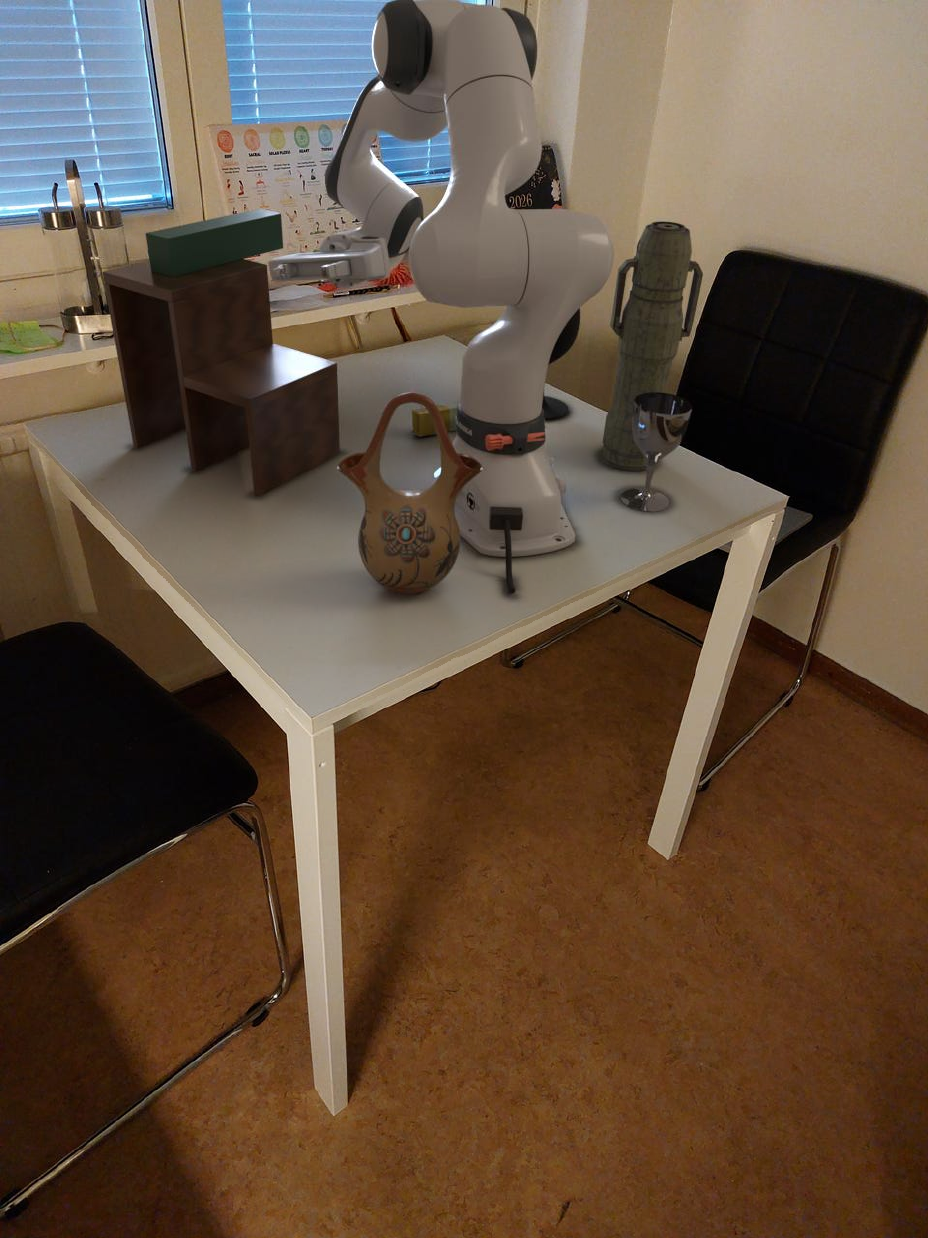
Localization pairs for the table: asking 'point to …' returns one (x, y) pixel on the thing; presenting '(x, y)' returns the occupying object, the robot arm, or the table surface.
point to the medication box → (424, 422)
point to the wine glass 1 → (563, 344)
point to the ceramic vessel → (409, 510)
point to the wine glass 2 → (656, 441)
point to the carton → (214, 242)
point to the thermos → (648, 330)
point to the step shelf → (220, 371)
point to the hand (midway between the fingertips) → (300, 273)
